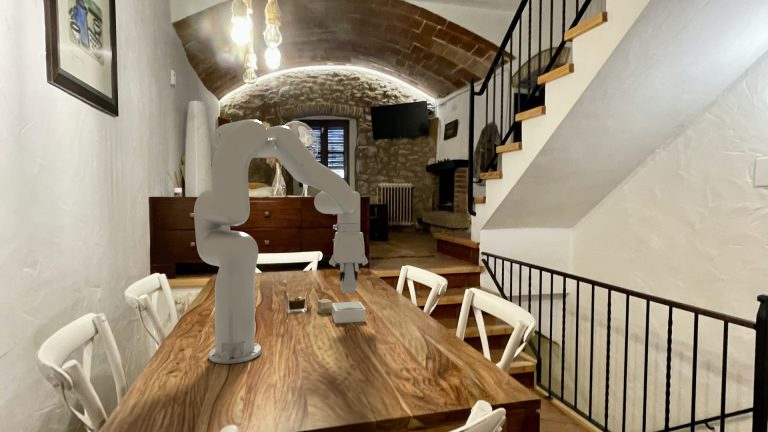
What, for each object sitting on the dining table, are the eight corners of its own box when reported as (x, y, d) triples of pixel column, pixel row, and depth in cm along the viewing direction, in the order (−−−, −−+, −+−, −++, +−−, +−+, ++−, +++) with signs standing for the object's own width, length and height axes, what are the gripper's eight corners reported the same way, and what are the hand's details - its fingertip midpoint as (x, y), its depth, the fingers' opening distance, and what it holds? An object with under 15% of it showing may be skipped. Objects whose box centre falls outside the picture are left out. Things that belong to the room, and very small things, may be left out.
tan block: (332, 312, 144) (332, 301, 144) (322, 314, 142) (322, 302, 142) (327, 309, 147) (327, 299, 147) (317, 311, 145) (317, 300, 145)
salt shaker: (358, 290, 140) (358, 252, 139) (355, 294, 134) (356, 254, 133) (341, 289, 140) (341, 252, 140) (338, 293, 135) (338, 254, 134)
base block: (365, 321, 134) (365, 308, 133) (335, 323, 131) (335, 310, 131) (360, 312, 143) (360, 300, 143) (331, 314, 141) (331, 302, 141)
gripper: (325, 229, 130) (325, 286, 131) (375, 228, 134) (374, 284, 135) (323, 227, 138) (323, 281, 139) (370, 227, 142) (370, 279, 142)
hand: (348, 282), depth 137 cm, fingers closed on salt shaker, 3 cm apart
